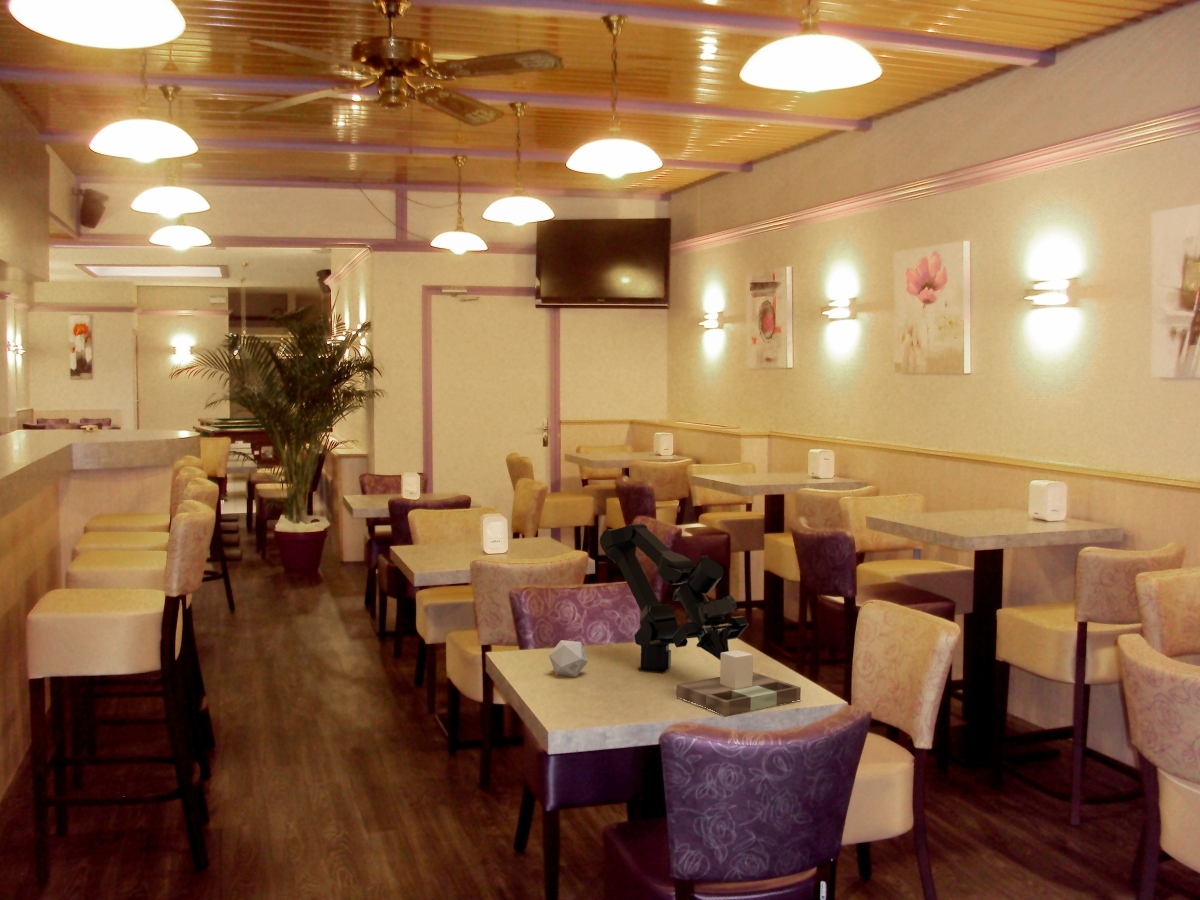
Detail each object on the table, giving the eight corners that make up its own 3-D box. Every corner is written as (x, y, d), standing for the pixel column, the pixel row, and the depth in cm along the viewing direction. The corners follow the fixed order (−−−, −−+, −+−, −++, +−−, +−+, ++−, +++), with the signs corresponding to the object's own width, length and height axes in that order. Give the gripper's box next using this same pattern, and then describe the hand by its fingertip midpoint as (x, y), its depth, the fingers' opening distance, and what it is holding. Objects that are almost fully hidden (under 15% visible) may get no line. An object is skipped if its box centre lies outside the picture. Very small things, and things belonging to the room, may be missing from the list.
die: (563, 684, 252) (588, 650, 252) (536, 661, 255) (562, 628, 256) (574, 688, 259) (599, 655, 260) (549, 665, 263) (573, 633, 263)
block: (719, 683, 241) (720, 652, 240) (736, 680, 243) (737, 649, 243) (735, 689, 236) (736, 657, 236) (752, 686, 239) (753, 654, 239)
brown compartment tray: (676, 697, 240) (676, 684, 240) (750, 683, 252) (750, 671, 252) (724, 716, 227) (725, 702, 226) (800, 700, 239) (800, 687, 239)
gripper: (681, 588, 240) (713, 647, 232) (744, 581, 251) (777, 637, 242) (658, 617, 247) (689, 676, 239) (721, 609, 258) (752, 665, 249)
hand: (728, 662), depth 242 cm, fingers closed
